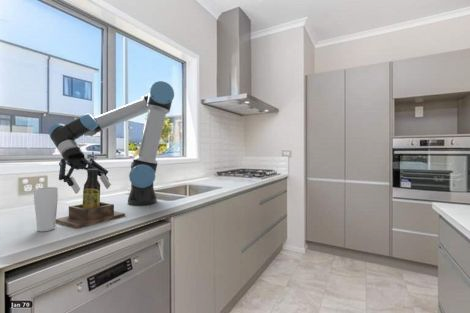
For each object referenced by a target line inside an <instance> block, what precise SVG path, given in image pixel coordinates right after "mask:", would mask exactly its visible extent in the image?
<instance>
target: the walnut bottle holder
mask: <svg viewBox="0 0 470 313" xmlns="http://www.w3.org/2000/svg"><path fill="white" fill-rule="evenodd" d="M82 207H83V203H80V204H76V205H71V206H70V205H69V206H68V216H64V217H59V218H58V217H57V218H56V224H57V223H58V224H61V225H64V226H66V227H71V228H73V229H80V228H84V227H88V226H92V225H93V226H94V225H96V224H99V223H104V222H107V221H112V220H116V219H119V218H123V217H126V213H125V212H121V211H116V210H115V204H114V203H109V202H108V203H107V202H102V201H100V207H95V208H90V209H83V208H82Z"/></svg>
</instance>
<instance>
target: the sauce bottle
mask: <svg viewBox="0 0 470 313" xmlns="http://www.w3.org/2000/svg"><path fill="white" fill-rule="evenodd" d="M86 172H87V178H86V181H85V182H84V184H83V191H82V204H83V207H82V208H83V209H90V208H95V207H100V202H101V183H100V181H99V180H98V169H87V170H86Z"/></svg>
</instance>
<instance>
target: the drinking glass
mask: <svg viewBox="0 0 470 313" xmlns="http://www.w3.org/2000/svg"><path fill="white" fill-rule="evenodd" d="M58 189H59V188H58V187H53V186H50V187H49V186H47V187H37V188H35V189H33V190H34V191H33V205H34V211H35V212H34V213H35V221H36V231H37V232H48V231H52V230H54V229H56V224H57V222H56V219H57V212H58V211H57V210H58V202H59V200H58V198H59V195H58V193H59V192H58Z"/></svg>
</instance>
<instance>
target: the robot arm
mask: <svg viewBox="0 0 470 313" xmlns="http://www.w3.org/2000/svg"><path fill="white" fill-rule="evenodd" d="M174 98H175V92H174V88H173V87H172V85H170V83H168V82H167V81H162V80H160V81H156V82H153V84H152V85H150V87H149V93H147V94H146V95H142V96H141V99H138V100H136V101H133V102H130V103H128V104H126V105H123V106H121V107H117V108H115V109H113V110H110V111H107V112H104V113H102V114H99V115H97V116H95V117H93V116H92V115H91V113H89V112H88V113H84V114H83V115H80V116H79V117H78V118H75V119H74V120H73V121H70V122H69V123H67V124H64V123H56V124H52V125H51V126H50V127H49V128H47V129H48V130H47V133H48V135H49V137H50V140H51V141H52V142H53V144H54V146H55V147H56V148H57V150H58V152H59V153H60V155H61V157H62V158H61V159H60V161H59V162H58V165H59V172H58V173H59V174H58V181H63V182H64V183H66V184H67V185H68V186H69V187H70V188H71V189H72V191H73V192H74V194H75V195H76V194H78V193H79V192H80V190H81V187H80V185H79V184H78V182H77V181H76V179H75V178H74V177H73V176H71V175H72V174H73V172H74V170H76V171H78V170H85V171H87V169H98V176H99V179H100V181H101V182H102V184H103V186H104V187H105V188H106V189H109V188H110V187H111V186H112V184H111V182H110V181H109V178H108V176H107V174H108V173H109V170H107V169H106V168H105V167H103V166H102V165H100V164H99V163H97V162H96V161H95V159H94V158H90V159H87V158H86V157H85V154H84V152H83V151H82V149H81V147H80V146H79V145H78V143H77V141H76V140H77V139H80V138H81V137H82V136H84V135H85V136H88V137H92V136H95V135H96V134H97V133H99V132H102V131H104V130H107V129H110V128H112V127H115V126H117V125H119V124H121V123H124V122H127V121H130V120H131V119H134V118H136V117H138V116H142V115H144V114H147V115H146V116H147V117H146V120H145V124H144V128H143V132H142V136H141V141H140V146H139V149H138V152H137V153H138V154H137V155H136V157H134V158H133V160H132V161H131V163H130V172H129V174H128V178H129V181H130V182H131V183H130V191H129V195H128V197H127V204H128V205H131V206H145V205H152V204H154V203H157V202H158V201H157V200H158V198H157V195H156V192H155V187H154V182H155V181H156V172H157V166H158V162H157V160H156V158H157V155H158V154H157V153H158V149H159V145H160V141H161V137H162V133H163V129H164V124H165V120H166V115H167V114H169V113H170V111H171V107H172V102H173V99H174ZM67 166H69V167H70V168H69V170H68V172H67V173H66V169H67Z"/></svg>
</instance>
